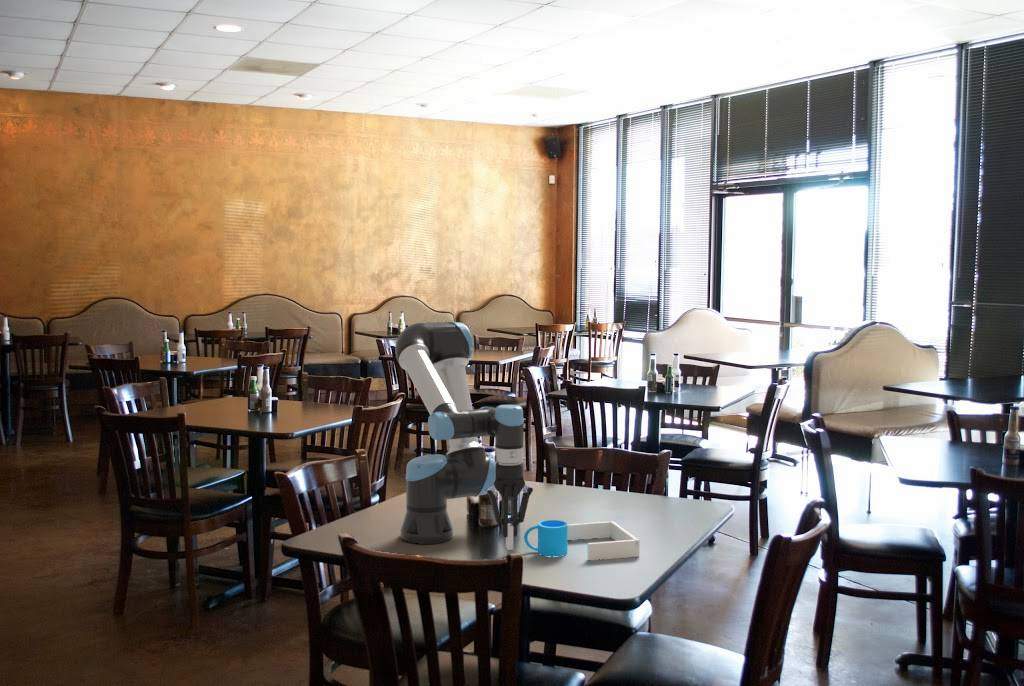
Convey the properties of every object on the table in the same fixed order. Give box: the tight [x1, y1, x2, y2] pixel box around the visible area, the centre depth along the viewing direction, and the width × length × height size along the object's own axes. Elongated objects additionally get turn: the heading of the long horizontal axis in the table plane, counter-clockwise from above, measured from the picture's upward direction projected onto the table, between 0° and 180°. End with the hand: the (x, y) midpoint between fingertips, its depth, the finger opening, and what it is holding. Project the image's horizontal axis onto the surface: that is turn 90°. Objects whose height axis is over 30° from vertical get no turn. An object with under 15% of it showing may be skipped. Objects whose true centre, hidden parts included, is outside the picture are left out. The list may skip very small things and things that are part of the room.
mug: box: [523, 519, 568, 558], centre depth 263 cm, size 12×8×8 cm
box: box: [567, 520, 641, 561], centre depth 267 cm, size 14×20×4 cm
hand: (509, 548), depth 260 cm, fingers closed
